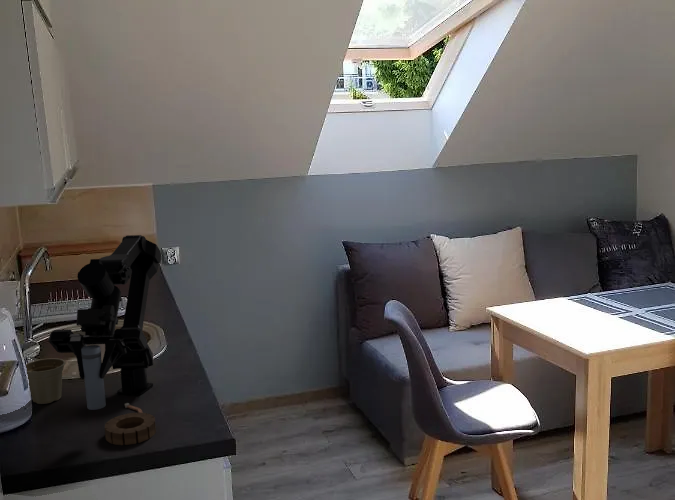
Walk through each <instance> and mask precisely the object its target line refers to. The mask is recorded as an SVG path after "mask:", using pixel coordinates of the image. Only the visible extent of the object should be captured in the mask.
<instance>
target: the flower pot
mask: <svg viewBox="0 0 675 500" xmlns="http://www.w3.org/2000/svg"><path fill="white" fill-rule="evenodd" d="M25 365H26V367H27V374H28V379H29V383H28V387H29V386H30V387H29V390H30V394H31V398H32V401H33V403H36V404H37V405H44V404H51V403H53V402H55V401H57V402H58V401H59V400H60V399H61V398H62V389H63V384H62V383H63V372H64V367H65V365H66V360H64V359H63V358H58V357H55V358H50V357H49V358H42V359H36V360H34V361H30V362H27V363H26V364H25Z"/></svg>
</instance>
